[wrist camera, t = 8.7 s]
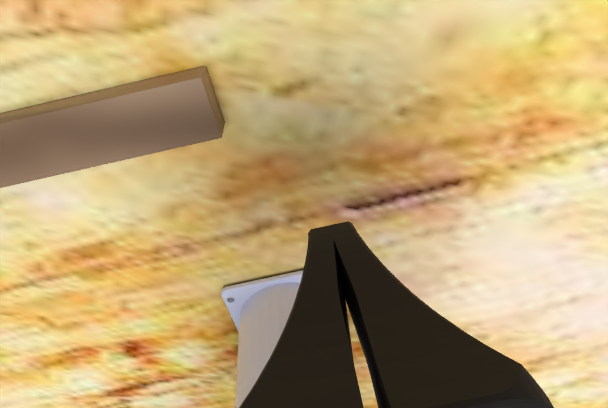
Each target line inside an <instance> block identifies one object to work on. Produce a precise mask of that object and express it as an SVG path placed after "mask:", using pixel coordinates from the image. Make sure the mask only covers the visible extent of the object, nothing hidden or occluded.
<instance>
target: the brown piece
mask: <svg viewBox="0 0 608 408" xmlns="http://www.w3.org/2000/svg"><path fill="white" fill-rule="evenodd" d="M224 123H225V122H224V119H223V116H222V113H221V110H220V107H219V104H218V101H217V98H216V95H215V92H214V89H213V86H212V83H211V80H210V77H209V74H208V71H207V68H206V66H202V67H198V68H193V69H189V70H185V71H180V72H176V73H172V74H168V75H163V76H159V77H155V78H150V79H146V80H142V81H138V82H133V83H129V84H125V85H120V86H116V87H112V88H108V89H103V90H99V91H95V92H90V93H86V94H82V95H78V96H73V97H69V98H65V99H60V100H56V101H52V102H48V103H43V104H39V105H35V106H30V107H26V108H22V109H18V110H13V111H9V112H5V113H0V188H2V187H6V186H11V185H15V184H20V183H24V182H29V181H33V180H37V179H42V178H46V177H51V176H55V175H59V174H64V173H68V172H73V171H77V170H81V169H86V168H90V167H95V166H99V165H103V164H108V163H112V162H117V161H121V160H125V159H130V158H134V157H139V156H143V155H147V154H152V153H156V152H161V151H165V150H169V149H174V148H178V147H183V146H187V145H192V144H196V143H200V142H205V141H209V140H214V139H218V138H222V134H223V128H224Z"/></svg>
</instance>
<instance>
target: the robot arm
mask: <svg viewBox="0 0 608 408" xmlns="http://www.w3.org/2000/svg"><path fill="white" fill-rule="evenodd" d="M308 237H309V238H308V249H307V256H306V261H305V266H304V270H302V271H297V272H293V273H288V274H283V275H279V276H274V277H269V278H265V279H260V280H255V281H251V282H246V283H241V284H237V285H232V286H227V287H224V288H223V289H222V293H221V295H222V298H223V300H224V302H225V304H226V306H227V309H228V311H229V313H230V315H231V317H232V319H233V321H234V324H235V326H236V328H237V330H238V332H239V341H238V361H237V381H236V400H235V408H363V403H362V399H361V394H360V390H359V385H358V381H357V376H356V372H355V367H354V362H353V354H352V347H351V339H350V331H349V323H348V316H347V308H346V302H347V305H348V308H349V311H350V314H351V317H352V320H353V323H354V325H355V328H356V331H357V334H358V337H359V340H360V343H361V346H362V349H363V352H364V355H365V358H366V361H367V364H368V368H369V371H370V375H371V379H372V383H373V387H374V391H375V395H376V399H377V404H378V408H554V407H553V405H552V404H551V402H550V400H549V398H548V397H547V396H546V394H545V393H544V391H543V390H542V389H541V387H540V386H539V385H538V384H537V382H536V381H535V380H534V379H533V377H532V376H531V375H530V374H529V373H528V371H527V370H526V369H525V368H524V367H523V366H522V365H521V364H520V363H518V362H516V361H514V360H512V359H510V358H508V357H506V356H505V355H503V354H501V353H499V352H497V351H496V350H494V349H492V348H490V347H489V346H487V345H485V344H483V343H482V342H480V341H479V340H477V339H475V338H474V337H472V336H470V335H469V334H467V333H466V332H464V331H463V330H461V329H460V328H458V327H457V326H455V325H454V324H453V323H451V322H450V321H448V320H447V319H445V318H444V317H442V316H441V315H440V314H438V313H437V312H435V311H434V310H433V309H432V308H430V307H429V306H428V305H426V304H425V303H424V302H423V301H421V300H420V299H419V298H418V297H417V296H415V295H414V294H413V293H412V292H411V291H410V290H409V289H407V288H406V287H405V286H404V285H403V284H402V283H401V282H400V281H399V280H398V279H397V278H396V277H395V276H394V275H393V274H392V273H391V272H390V271H389V270H388V269H387V268H386V267H385V266H384V265H383V264H382V263H381V261H380V260H379V259H378V258H377V257H376V256H375V255H374V254H373V252H372V251H371V250H370V249H369V248H368V246H367V245H366V244H365V242H364V241H363V240H362V238H361V237H360V236H359V234H358V233H357V231H356V229H355V228H354V226H353V224H352V223H350V222H349V221H348V222H343V223H339V224H334V225H329V226H325V227H320V228H315V229H311V230H310V232H309V233H308ZM229 297H232V298H229ZM345 299H346V300H345Z"/></svg>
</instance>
